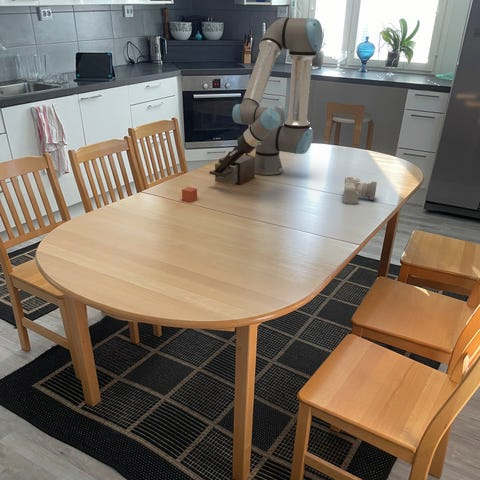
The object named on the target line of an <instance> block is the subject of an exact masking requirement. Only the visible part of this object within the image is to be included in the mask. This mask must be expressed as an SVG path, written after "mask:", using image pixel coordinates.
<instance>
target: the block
mask: <svg viewBox="0 0 480 480" xmlns="http://www.w3.org/2000/svg"><path fill="white" fill-rule="evenodd" d="M196 200H198V189H197V188H195V187H192V186H187V187H184V188H182V189H181V201H184V202H188V203H192V202H195V201H196Z"/></svg>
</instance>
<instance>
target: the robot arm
mask: <svg viewBox="0 0 480 480" xmlns="http://www.w3.org/2000/svg"><path fill="white" fill-rule="evenodd" d="M323 35H324V34H323V26H322V24H321V22H320V21H319V20H318V19H317V18H309V17H287V16H286V17H282V18H279V19H277V20H275V21H273V22H272V24H271V25H269V27H268V28H267V29H266V31H265V32H264V33H263V35H262V37H261V38H260V42H259V44H258V50H259V52H258V55H257V57H256V60H255V64H254V66H253V70H252V73H251V75H250V78H249V81H248V83H247V87H246V90H245V93H244V95H243V98H242V101H241V103H237V104H235V105H234V106H233V107H232V112H231V115H232V120H233V122H234V123H236V124H239V125H247V126H248V128H246V129H245V131H244V132H243V133H242V134H241V135H240V136H239V137H238V138H237V145H235V146H234V147H233V149H232V150H230V151H228V153H227V154H226V155H225V156H224V157H225V158H224V159H223V160H222V161H221V162H220V166H219V167H218V168H217V169H216V170H215V169H214V170H215V171H214V170H213V171H214V172H219V173H222V172H223V171H225V170H226V169H227V167H228V168H230V165H232V164H233V163H234V162H235V161H237V160H238V159H239V158H240V157H241V156H242V155H248V156H253V157H255V172H254V175H259V176H277V175H280V174H282V173H283V166H282V165H283V164H282V160H281V157H280V152H281V153H282V152H283V153H288V154H295V155H304V154H306V153H307V152H308V151H309V150H310V147H311V145H312V142H313V138H314V130H313V128H311V127H310V126H311V124H310V122H309V120H308V112H309V111H308V109H309V99H310V88H311V77H312V65H313V60H314V59H315V58H316V57H317V53H318V52H319V51H320V52H321V49H322V47H323V41H324V39H323V38H324V36H323ZM283 50H288V55H289V57H290V59H291V71H290V85H289V99H288V112H287V110H286V109H285V107H283V106H282V105H275V106H273V107H267V106H260V105H261V102H262V100H263V97H264V94H265V92H266V88H267V86H268V83H269V80H270V77H271V74H272V71H273V69H274V66H275V62H276V60H277V58H278V57H279V56H280V55H281V53H282V51H283ZM254 150H255V153H254V155H250V154H251V153H252V152H253V151H254ZM215 176H216V177H218V176H217V175H214V177H215Z"/></svg>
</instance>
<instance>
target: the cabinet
mask: <svg viewBox="0 0 480 480" xmlns="http://www.w3.org/2000/svg"><path fill="white" fill-rule="evenodd" d="M248 155H249V154H248ZM248 155H246V154H243V155H242V156H241V157H240V158H239V159H238V160H237V161H235V162H234V163H233V164H239V182H237V183H235V186H236V185H237V186H241V185H243V184H245V183H247V182H249V181H251V180H253V179H255V173H254V172H255V156H254V155H251V156H248ZM253 156H254V157H253ZM225 157H226V156H223V157H221V158H218V163H220V162H221V161H222V160H223V159H224V158H225Z"/></svg>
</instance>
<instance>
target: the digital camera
mask: <svg viewBox="0 0 480 480" xmlns="http://www.w3.org/2000/svg"><path fill="white" fill-rule="evenodd" d="M377 183H378V182H377V181H371V182H370V183H369V182H368V183H367V182H361V179H360V178H359V177H354V176H345V177H344V189H343V197H342V202H343V203H344V204H348V205H349V204H351V205H358V203H359V199H360V198H368V200H370V201H375V198H376V191H377Z"/></svg>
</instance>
